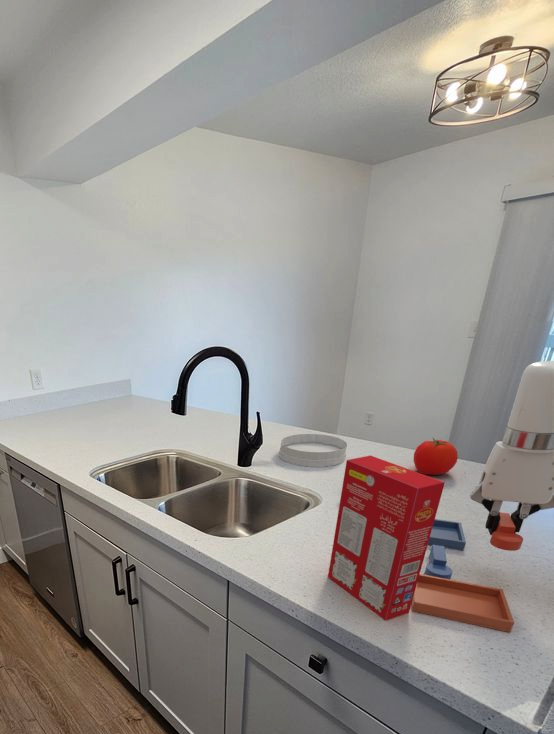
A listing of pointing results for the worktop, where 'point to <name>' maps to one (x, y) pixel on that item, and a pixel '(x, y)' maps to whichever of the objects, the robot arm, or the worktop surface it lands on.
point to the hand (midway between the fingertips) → (500, 532)
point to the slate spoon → (438, 563)
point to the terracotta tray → (462, 602)
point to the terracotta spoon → (506, 535)
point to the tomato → (435, 457)
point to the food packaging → (383, 533)
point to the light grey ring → (313, 450)
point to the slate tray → (447, 534)
